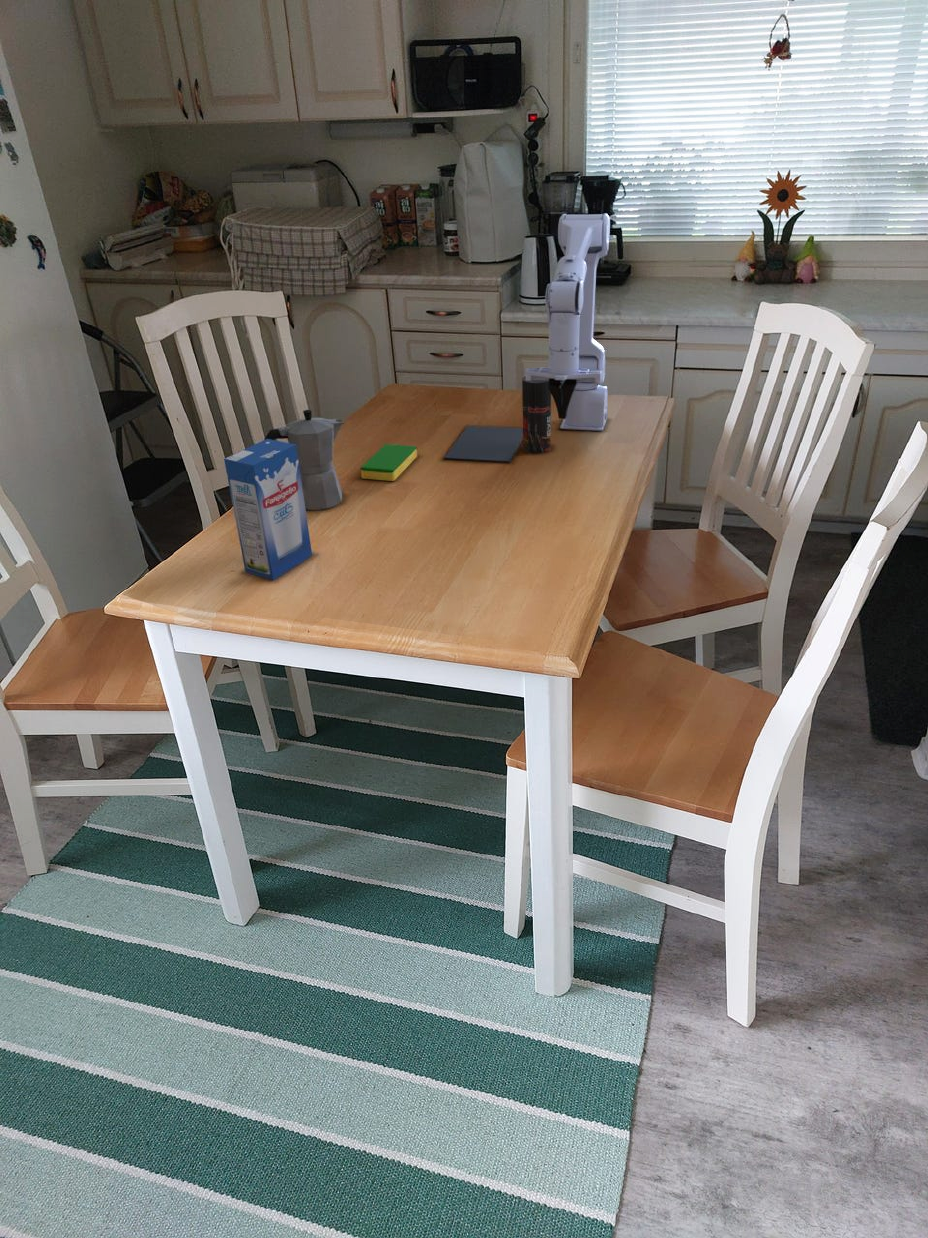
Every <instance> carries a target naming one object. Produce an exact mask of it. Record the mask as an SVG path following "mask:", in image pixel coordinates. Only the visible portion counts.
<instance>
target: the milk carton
mask: <svg viewBox="0 0 928 1238" xmlns="http://www.w3.org/2000/svg"><path fill="white" fill-rule="evenodd" d="M264 439H265V438H264ZM264 439H263V440H260V441H259V442H257V443H255V444H253V445H251V446H248V447H246V448H244V449H242V450H240V451H237V452H236V453H233V454H231V455H230V456H227V457H225V458H224V459H223V461H224V467H225V472H226V476H227V482H228V483H227V484H228V486H229V492H230V498H231V504H232V509H233V514H234V518H235V524H236V528H237V535H238V539H239V546H240V550H241V556H242V560H243V565H244V571H245V573H247V574H251V575H254V576H257V577H261V578H265V579H267V580H271V581H275V580H277V579H278V578H279V577H281V576H283V575H284V574H286V573H287V572H289V571H291V570H292V569H294V568H295V567H297V566H299V565H300V564H302V563H303V562H305V561H307V560H308V559H309V558H311V557H312V556H313V552H312V551H313V550H312V544H311V537H310V530H309V523H308V516H307V511H306V510H307V509H305V502H304V496H303V489H302V482H301V475H300V468H299V461H298V455H297V448H296V444H291V443H289V442H287V441H286V442H285V441H281V440H277V439H275V440H271V439H265V440H264Z"/></svg>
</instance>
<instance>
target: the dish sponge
mask: <svg viewBox="0 0 928 1238" xmlns="http://www.w3.org/2000/svg"><path fill="white" fill-rule="evenodd" d="M417 458H418V449H417V446H416V445H407V444H404V445H403V444H390V443H385V444H383V446H382V447H380V449H378V450H377V452H375V453H374V455H372V456H371V457H370V458H369V459H368V460H367V461H366V462H365V463H364V464H363V465H362V466H360V473H361V475H360V476H361V478H362V479H365V480H376V481H387V482H388V481H390V482H394V481H396V480H397V479H398V477H400V475H401V474H402V473H403V472H404V471H405V470H406V469H407V468H408V467H409V466H410V465H411V464H412V463H413V462H414V460H415V459H417Z"/></svg>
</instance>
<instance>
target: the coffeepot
mask: <svg viewBox="0 0 928 1238" xmlns="http://www.w3.org/2000/svg"><path fill="white" fill-rule="evenodd" d="M302 413H303V416H304V418H299V419H297V420H295V421H291V422H288V423H286V424H285V426H282V427H278V428H273V429H270V430H269V431H268V433H267V434H266V436H265V437H264V438H263V440H265V439H271V440H284V439H286V440H287V443H291V444H296V448H297V455H298V461H299V468H300V475H301V482H302V489H303V496H304V502H305V509H306V510H307V511H321V510H322V511H323V510H327V509H331V508H334V507H336V506H337V505H339V504H341V503H342V501H343V492H342V488H341V486H340V482H339V478H338V475H337V472H336V469H335V466H334V463H333V459H334V443H335V441H336V438H337V437H338V433H339V431H340V429H341V427H342V426H343V425H344V424H345V422H344V421H343V420H342V419H337V418H324V417H312V415H313V410H312V409H305V410H303V411H302Z"/></svg>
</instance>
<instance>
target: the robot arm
mask: <svg viewBox="0 0 928 1238" xmlns="http://www.w3.org/2000/svg"><path fill="white" fill-rule="evenodd" d="M610 229H611V219H610V216H609V215H608V213H601V214H599V213H598V214H596V213H595V214H567V213H563V214H561V216H560V217H559V219H558V229H557V239H558V240H557V241H558V245H559V246H560V249H561V251H562V253H563V255H564V256H562V257H560V259H559V260H558V261H557V264H556V268H555V272H554V275H553V280H552V281H551V284H550V283H548V284H547V285H546V289H545V295H544V296H545V297H544V298H545V300H544V301H545V302H544V303H545V304H544V305H545V312H546V323H547V325H548V366H546V367H527V368H526V370H525V376H526V381H531V380H549V385H548V388H549V391H550V392H551V397H552V399H553V401H554V404H555V407H556V410H557V416H558V419H561V420H562V422H561V423H560V427H559V428H560V429H561V430H574V431H575V430H576V431H577V430H579V431H597V432H598V431H599V432H602V431H603V430H604V428H605V425H606V423H607V420H608V391H609V390H608V387H607V386H604V385H602V384H603V383H604V382H605V377H606V349H605V348H604V347H603V346H602V345H601V344H600V343H599V342H597V340H595V339H594V328H595V327H594V325H595V307H596V305H595V303H596V286H597V285H596V284H597V283H596V282H597V268H598V265H599V260H600V259H601V258H603V257H606V256H608V252H609V248H610V247H609V246H610V234H611V232H610V231H611V230H610Z"/></svg>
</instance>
